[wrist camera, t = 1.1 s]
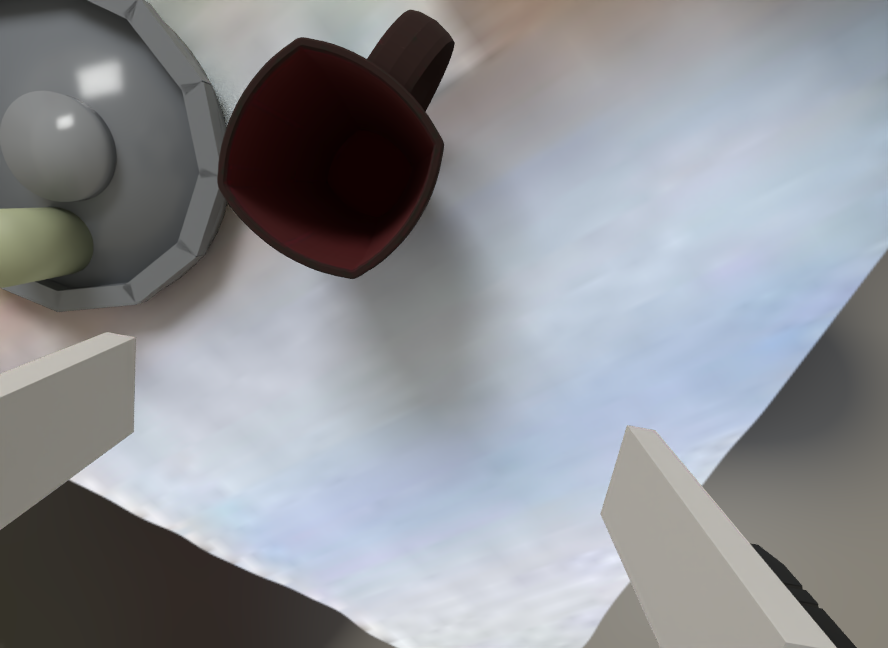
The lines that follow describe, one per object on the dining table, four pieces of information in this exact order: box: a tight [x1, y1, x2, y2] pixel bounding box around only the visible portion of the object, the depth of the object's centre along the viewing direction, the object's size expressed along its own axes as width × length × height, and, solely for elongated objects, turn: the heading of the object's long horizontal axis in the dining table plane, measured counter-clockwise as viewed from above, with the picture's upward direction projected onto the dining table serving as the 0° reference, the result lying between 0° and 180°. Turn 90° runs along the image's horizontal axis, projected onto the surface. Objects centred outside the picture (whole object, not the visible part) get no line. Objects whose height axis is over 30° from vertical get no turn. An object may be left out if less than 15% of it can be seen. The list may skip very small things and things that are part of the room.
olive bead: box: [0, 207, 94, 288], centre depth 33 cm, size 5×5×6 cm
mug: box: [217, 10, 455, 279], centre depth 29 cm, size 10×14×12 cm
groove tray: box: [0, 0, 227, 312], centre depth 34 cm, size 22×22×2 cm
